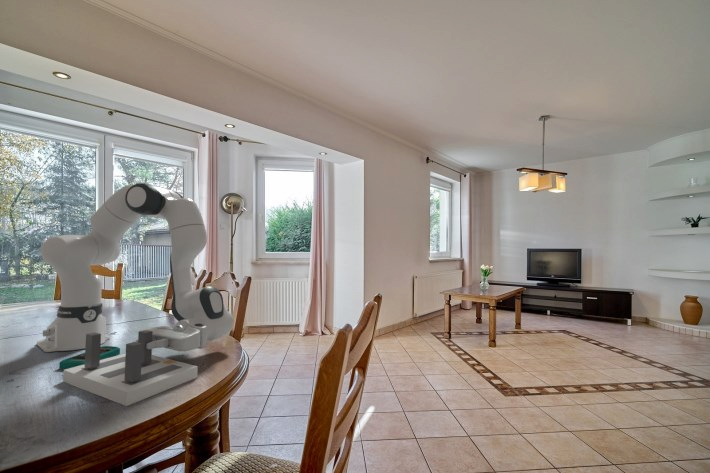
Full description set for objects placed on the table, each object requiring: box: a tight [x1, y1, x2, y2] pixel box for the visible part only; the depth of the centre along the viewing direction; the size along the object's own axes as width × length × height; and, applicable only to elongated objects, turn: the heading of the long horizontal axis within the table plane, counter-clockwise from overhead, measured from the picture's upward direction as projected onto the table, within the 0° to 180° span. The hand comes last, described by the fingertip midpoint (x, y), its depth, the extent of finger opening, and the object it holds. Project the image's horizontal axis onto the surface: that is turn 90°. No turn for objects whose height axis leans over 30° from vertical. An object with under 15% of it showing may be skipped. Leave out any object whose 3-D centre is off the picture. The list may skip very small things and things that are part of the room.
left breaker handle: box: [84, 333, 102, 369], centre depth 85 cm, size 3×2×9 cm, turn 64°
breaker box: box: [62, 352, 199, 407], centre depth 86 cm, size 28×18×3 cm, turn 64°
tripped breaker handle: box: [137, 329, 153, 365], centre depth 89 cm, size 3×2×9 cm, turn 64°
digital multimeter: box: [58, 345, 121, 370], centre depth 99 cm, size 7×15×3 cm, turn 178°
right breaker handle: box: [125, 341, 142, 382], centre depth 78 cm, size 3×2×9 cm, turn 64°
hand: (141, 344), depth 88 cm, fingers closed on tripped breaker handle, 3 cm apart
